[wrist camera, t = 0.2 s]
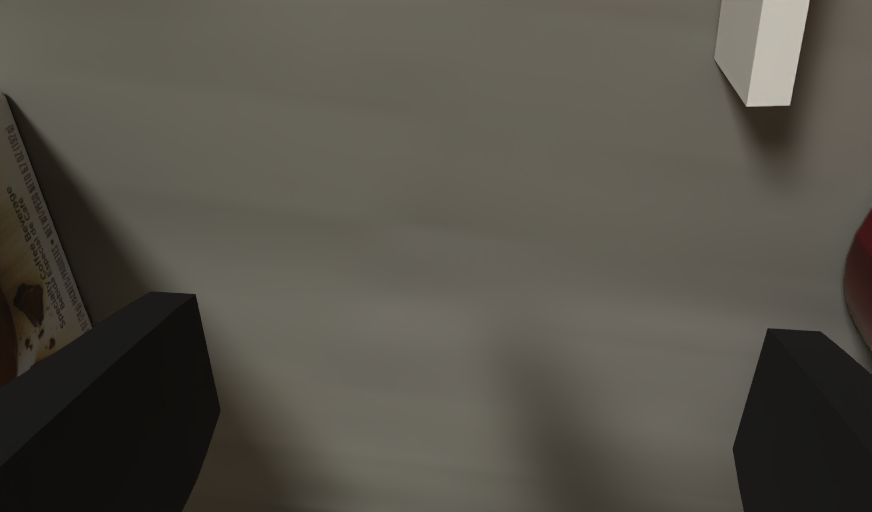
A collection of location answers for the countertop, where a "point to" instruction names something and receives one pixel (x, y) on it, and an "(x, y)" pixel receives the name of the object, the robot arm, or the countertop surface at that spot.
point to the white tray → (761, 48)
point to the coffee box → (30, 266)
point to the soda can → (860, 279)
